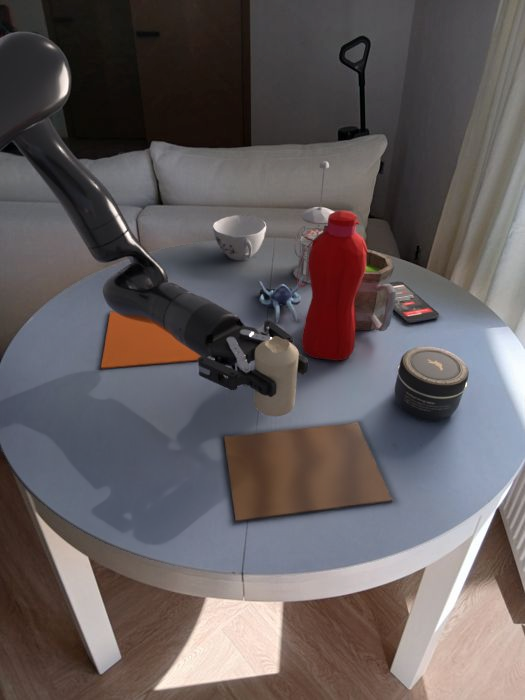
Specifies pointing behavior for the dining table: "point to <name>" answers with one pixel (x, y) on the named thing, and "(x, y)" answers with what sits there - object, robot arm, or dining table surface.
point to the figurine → (280, 298)
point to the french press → (311, 232)
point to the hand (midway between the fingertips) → (290, 378)
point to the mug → (375, 294)
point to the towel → (141, 344)
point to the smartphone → (411, 304)
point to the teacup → (239, 235)
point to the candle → (277, 375)
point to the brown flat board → (302, 471)
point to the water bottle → (334, 288)
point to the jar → (430, 383)
